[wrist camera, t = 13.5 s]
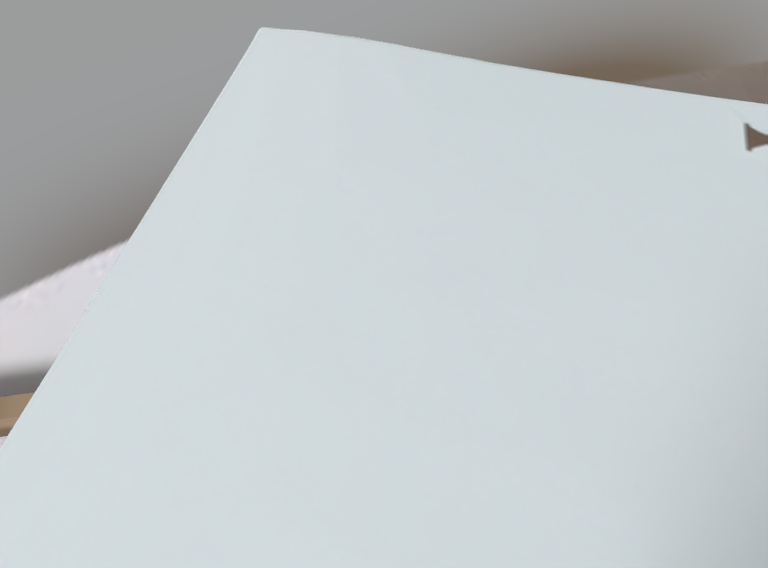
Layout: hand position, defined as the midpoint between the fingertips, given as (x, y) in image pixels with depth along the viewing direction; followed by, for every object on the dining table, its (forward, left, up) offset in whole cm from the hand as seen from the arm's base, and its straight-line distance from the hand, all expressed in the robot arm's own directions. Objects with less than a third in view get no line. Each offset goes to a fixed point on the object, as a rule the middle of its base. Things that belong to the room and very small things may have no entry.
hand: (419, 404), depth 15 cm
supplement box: (0, +2, -6) cm, 6 cm away
